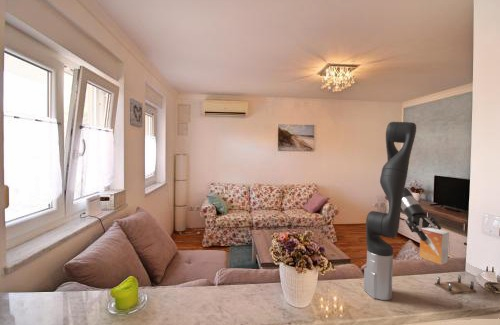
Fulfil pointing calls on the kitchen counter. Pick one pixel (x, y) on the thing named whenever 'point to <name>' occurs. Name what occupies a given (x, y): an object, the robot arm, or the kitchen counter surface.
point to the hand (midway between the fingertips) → (433, 240)
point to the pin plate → (455, 286)
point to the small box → (435, 245)
